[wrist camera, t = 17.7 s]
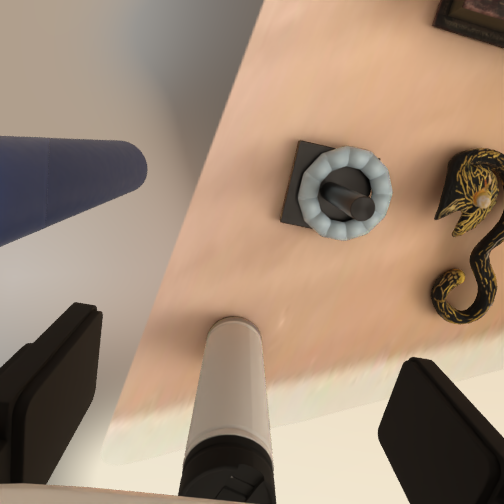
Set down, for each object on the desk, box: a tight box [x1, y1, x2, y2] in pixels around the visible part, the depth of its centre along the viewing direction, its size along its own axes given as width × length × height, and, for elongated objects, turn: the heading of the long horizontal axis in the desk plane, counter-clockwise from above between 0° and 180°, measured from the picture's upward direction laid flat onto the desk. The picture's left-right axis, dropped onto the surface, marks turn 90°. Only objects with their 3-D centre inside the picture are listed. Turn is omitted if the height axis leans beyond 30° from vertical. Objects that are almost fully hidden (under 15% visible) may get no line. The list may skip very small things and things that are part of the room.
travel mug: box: [178, 317, 276, 504], centre depth 30 cm, size 6×7×20 cm
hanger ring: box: [298, 146, 393, 241], centre depth 33 cm, size 9×9×2 cm
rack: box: [280, 141, 380, 229], centre depth 30 cm, size 8×8×11 cm
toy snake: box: [431, 148, 504, 324], centre depth 35 cm, size 18×5×10 cm
